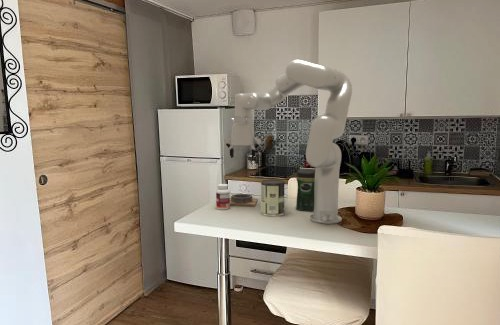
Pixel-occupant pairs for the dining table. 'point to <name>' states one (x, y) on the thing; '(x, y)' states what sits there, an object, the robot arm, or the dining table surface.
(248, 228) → the dining table surface
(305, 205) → the coffee jar
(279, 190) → the coffee can
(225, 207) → the pill bottle
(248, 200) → the dish on wooden board
